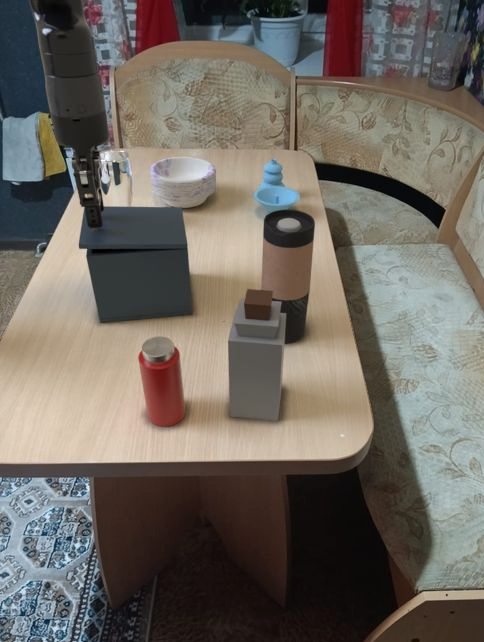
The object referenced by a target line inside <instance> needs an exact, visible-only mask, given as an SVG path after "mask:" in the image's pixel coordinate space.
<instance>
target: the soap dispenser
mask: <svg viewBox="0 0 484 642" xmlns="http://www.w3.org/2000/svg"><path fill="white" fill-rule="evenodd" d="M263 171H264V172H263V173H262V179H263V181H262V182H261V184H259V186H258V189H257V190H255V191H254V193H253V198H254V199H255V200H256V202H258V203H259V204H260V205H261V206H262V207H263V208H264V209H265V210H266V211H267V212H268V214H269V213H271V212H274V211H278V210H289V209H290V208H291V207H292V206H293V205H295V204H296V203H297V202H298V201H299V200H300V198H301V195H300V193H299V192H298V191H297V190H295V189H293V188H290V187H287V186H286V185H285V184H284V182H282V181H283V179H284V175H283V166H282V164H281V163H280V162H277V159H276V158H270V159H269V162H267V163H265V164H264V166H263Z"/></svg>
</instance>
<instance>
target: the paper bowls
mask: <svg viewBox="0 0 484 642" xmlns="http://www.w3.org/2000/svg"><path fill="white" fill-rule="evenodd" d="M149 177H150V187H151V191H152V193H153V194H154V195H155V196H157V197H159V198H160V199H162V201H163V202H164V203H165V204H167V205H168V206H169V207H182V209H189V208H196V207H198V206H200V205H202V204H203V203H204V202H206V201H207V199H208V197H209V196H212V195H213V194H214V193H215V192H216V189H217V169H216V166H215V165H214V164H213V163H212V162H210V161H208V160H206V159H203V158H199V157H194V156H173V157H167V158H163V159H160V160H158V161H156V162H154V163H153V164H152V165H151V166H150V167H149Z"/></svg>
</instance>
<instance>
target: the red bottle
mask: <svg viewBox="0 0 484 642" xmlns="http://www.w3.org/2000/svg"><path fill="white" fill-rule="evenodd" d="M137 358H138V365H139V371H140V377H141V385H142V390H143V395H144V402H145V409H146V415H147V419H148V421H149V422H150V423H151V424H153V425H155V426H157V427H164V428H165V427H171V426H174V425H176V424H178V423H180V422H181V421H182V420H183V419H184V417H185V415H186V404H185V395H184V394H185V393H184V386H183V385H184V383H183V375H182V365H181V364H182V363H181V353H180V351H179V349H178V348H177V346H175V344H174V341H173V340H172V339H170V338H169V337H165V336H153V337H150V338H148V339H146V340H145V341H144V342H143V343H142V345H141V350H140V352H139V354H138V357H137Z"/></svg>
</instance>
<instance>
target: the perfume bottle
mask: <svg viewBox="0 0 484 642" xmlns="http://www.w3.org/2000/svg"><path fill="white" fill-rule="evenodd" d="M272 296H273V291H267V290H261V289H254V288H252V289H251V288H247V289H246V293H245V296H244V298H239V301H238V304H237V308H236V309H235V311H234V314H233V319H232V322H231V326H230V331H229V335H228V338H227V357H228V358H227V362H228V396H229V397H228V398H229V399H228V400H229V401H228V403H229V417H231V418H239V419H240V418H241V419H251V420H261V421H274V422H275V421H276V422H278V421H279V418H280V417H279V416H280V409H281V398H282V391H283V389H282V388H283V377H284V376H283V374H284V359H285V344H286V343H285V327H286V313H280V310H281V302H279V301H272Z"/></svg>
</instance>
